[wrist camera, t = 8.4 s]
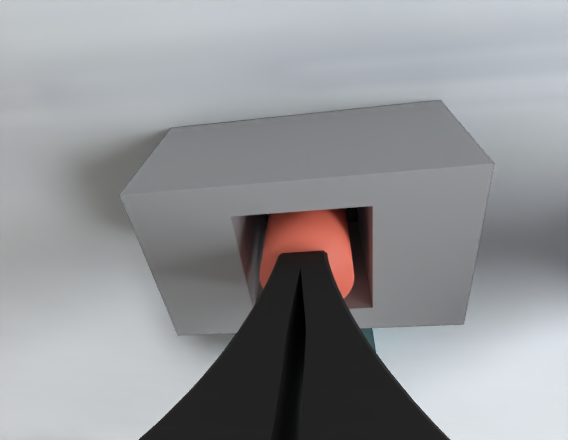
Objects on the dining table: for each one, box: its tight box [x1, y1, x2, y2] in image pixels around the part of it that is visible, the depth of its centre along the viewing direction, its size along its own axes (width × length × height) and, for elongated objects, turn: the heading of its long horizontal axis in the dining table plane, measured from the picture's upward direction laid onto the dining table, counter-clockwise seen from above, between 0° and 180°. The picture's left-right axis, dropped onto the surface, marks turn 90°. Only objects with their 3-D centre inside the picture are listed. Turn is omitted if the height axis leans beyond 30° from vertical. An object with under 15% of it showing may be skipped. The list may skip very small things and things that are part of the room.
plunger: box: [259, 208, 354, 299], centre depth 13 cm, size 3×3×4 cm
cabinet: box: [119, 100, 494, 335], centre depth 14 cm, size 10×6×5 cm, turn 97°
